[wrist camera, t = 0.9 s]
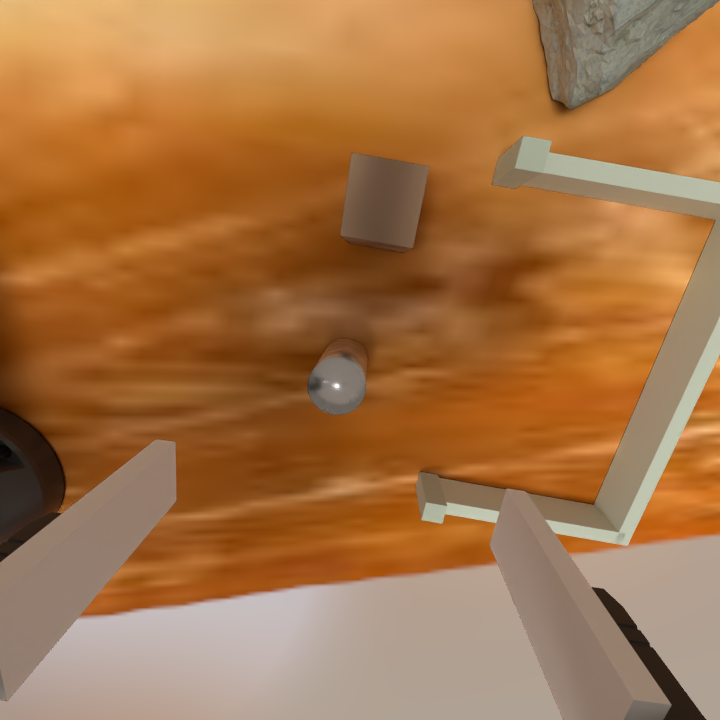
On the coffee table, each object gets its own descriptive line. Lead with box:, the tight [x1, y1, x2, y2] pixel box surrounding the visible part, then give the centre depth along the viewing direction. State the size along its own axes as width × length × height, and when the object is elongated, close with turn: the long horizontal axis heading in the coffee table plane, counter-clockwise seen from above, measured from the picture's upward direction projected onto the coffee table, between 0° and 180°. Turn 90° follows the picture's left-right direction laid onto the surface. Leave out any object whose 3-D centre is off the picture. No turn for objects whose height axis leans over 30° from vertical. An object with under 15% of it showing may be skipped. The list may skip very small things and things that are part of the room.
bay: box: [416, 136, 720, 546], centre depth 27 cm, size 18×29×4 cm, turn 170°
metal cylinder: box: [307, 338, 368, 415], centre depth 26 cm, size 4×4×7 cm
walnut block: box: [340, 153, 430, 253], centre depth 23 cm, size 4×4×7 cm
